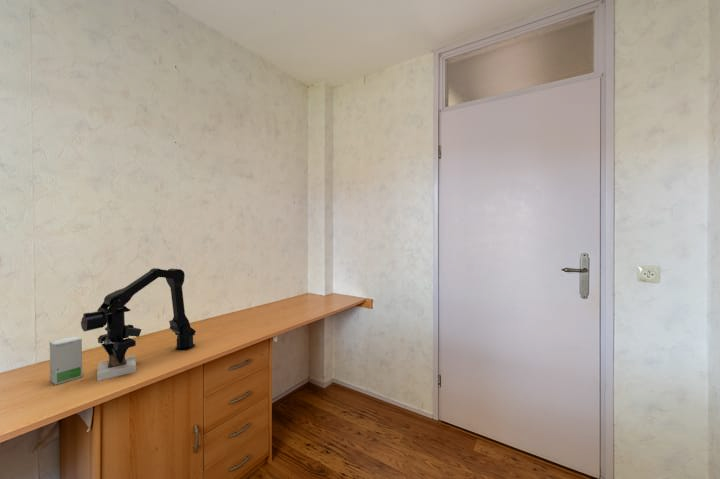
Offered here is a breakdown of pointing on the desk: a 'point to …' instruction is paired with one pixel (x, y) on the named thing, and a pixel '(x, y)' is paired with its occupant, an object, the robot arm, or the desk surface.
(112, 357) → the peg
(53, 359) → the skincare box
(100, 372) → the socket
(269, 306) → the desk surface
